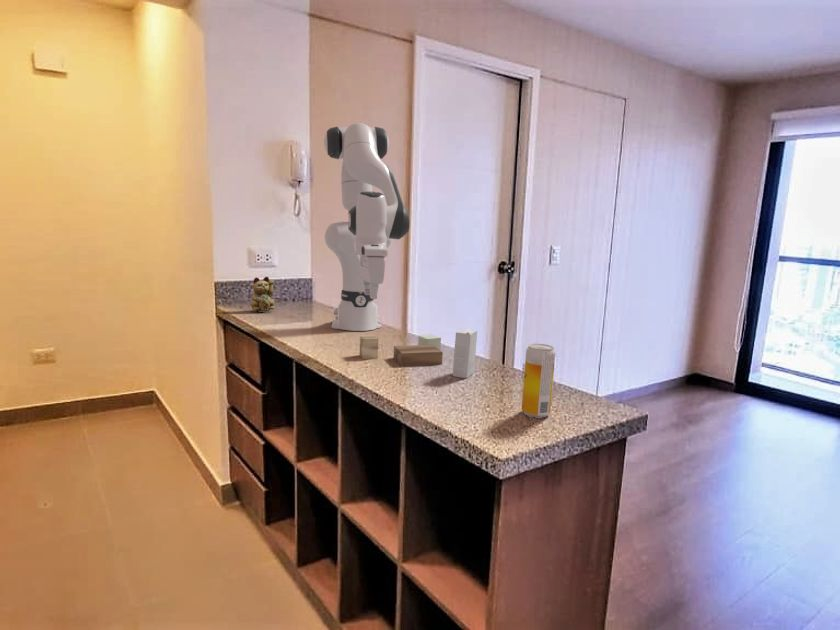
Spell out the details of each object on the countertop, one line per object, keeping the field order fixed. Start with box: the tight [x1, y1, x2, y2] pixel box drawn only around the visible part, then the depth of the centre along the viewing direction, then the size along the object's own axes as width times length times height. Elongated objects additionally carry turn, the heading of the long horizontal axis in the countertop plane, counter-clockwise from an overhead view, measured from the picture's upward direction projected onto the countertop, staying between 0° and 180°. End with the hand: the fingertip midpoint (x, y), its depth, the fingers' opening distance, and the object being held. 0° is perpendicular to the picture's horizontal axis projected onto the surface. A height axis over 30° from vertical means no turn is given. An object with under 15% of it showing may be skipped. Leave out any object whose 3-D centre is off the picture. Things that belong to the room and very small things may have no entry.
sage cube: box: [418, 334, 442, 351], centre depth 168 cm, size 5×5×5 cm
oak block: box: [359, 334, 379, 360], centre depth 158 cm, size 4×4×6 cm
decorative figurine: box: [250, 276, 275, 313], centre depth 225 cm, size 10×8×15 cm
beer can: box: [521, 343, 556, 419], centre depth 115 cm, size 6×6×15 cm
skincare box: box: [452, 328, 478, 379], centre depth 143 cm, size 6×4×12 cm
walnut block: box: [393, 344, 444, 367], centre depth 156 cm, size 9×12×4 cm
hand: (370, 296), depth 156 cm, fingers open, 8 cm apart
